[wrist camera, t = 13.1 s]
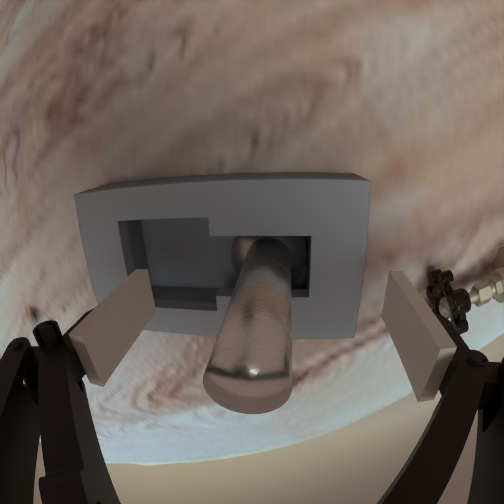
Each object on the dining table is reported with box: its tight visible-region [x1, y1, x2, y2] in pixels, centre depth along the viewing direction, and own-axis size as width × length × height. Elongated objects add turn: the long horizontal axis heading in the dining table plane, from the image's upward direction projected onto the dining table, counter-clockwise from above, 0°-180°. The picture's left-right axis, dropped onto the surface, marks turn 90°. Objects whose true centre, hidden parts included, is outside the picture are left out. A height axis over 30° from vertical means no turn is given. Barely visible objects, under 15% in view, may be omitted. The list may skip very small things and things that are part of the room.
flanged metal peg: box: [203, 236, 307, 414], centre depth 15 cm, size 5×5×14 cm
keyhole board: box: [74, 172, 370, 339], centre depth 21 cm, size 20×11×4 cm, turn 92°
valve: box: [426, 247, 504, 338], centre depth 18 cm, size 7×7×12 cm
